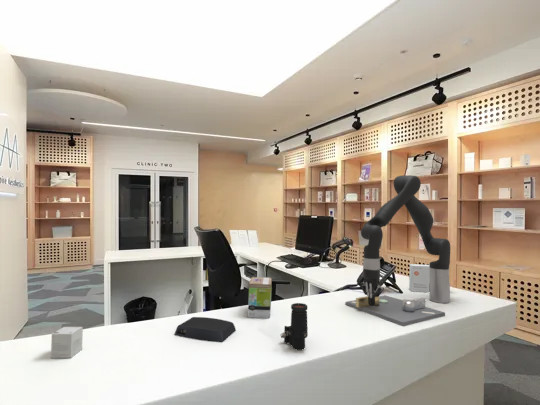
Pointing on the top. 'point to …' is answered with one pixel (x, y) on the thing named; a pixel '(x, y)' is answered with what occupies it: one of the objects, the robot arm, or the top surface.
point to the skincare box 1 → (66, 342)
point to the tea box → (259, 297)
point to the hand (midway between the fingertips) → (371, 305)
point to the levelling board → (397, 311)
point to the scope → (297, 327)
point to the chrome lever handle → (413, 304)
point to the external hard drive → (206, 329)
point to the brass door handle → (365, 301)
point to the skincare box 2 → (419, 278)
